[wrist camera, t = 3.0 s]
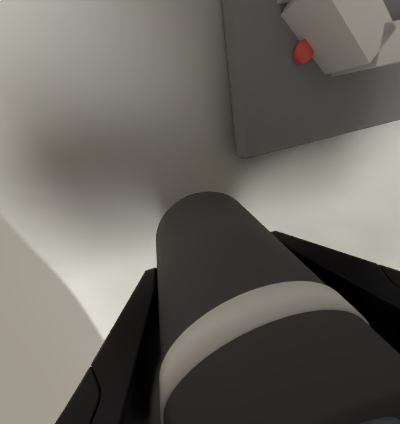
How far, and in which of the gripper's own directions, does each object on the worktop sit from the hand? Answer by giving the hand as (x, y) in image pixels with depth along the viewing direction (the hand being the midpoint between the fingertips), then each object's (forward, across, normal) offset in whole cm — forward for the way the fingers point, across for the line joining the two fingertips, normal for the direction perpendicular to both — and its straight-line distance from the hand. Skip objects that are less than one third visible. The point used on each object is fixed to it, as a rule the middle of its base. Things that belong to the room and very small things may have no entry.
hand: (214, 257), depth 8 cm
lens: (+2, 0, 0) cm, 2 cm away
